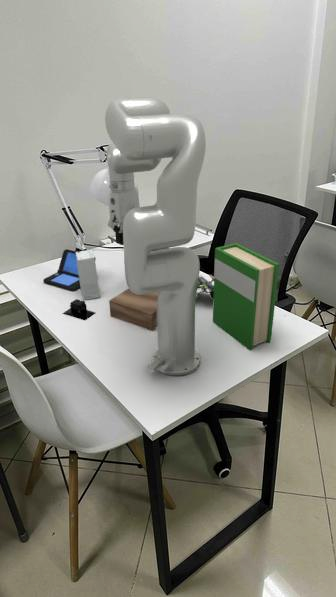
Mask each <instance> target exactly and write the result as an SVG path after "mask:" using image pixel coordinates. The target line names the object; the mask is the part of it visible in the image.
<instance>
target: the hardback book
mask: <svg viewBox="0 0 336 597" xmlns="http://www.w3.org/2000/svg"><path fill="white" fill-rule="evenodd" d="M279 269H280V263H278V262H277V261H274V260H272V259H270V258H268V257H266V256H264V255H262V254H260V253H258V252H256V251H254V250H253V249H252V250H251V249H249V248H247V247H246V246H244V245H241V244H239V243H237V242H234V243H231V244H227V245H224V246H223V245H222V246H218V247H215V249H214V272H213V277H214V281H213V286H214V298H213V299H212V301H213V303H212V304H213V306H212V307H213V308H212V323H213V324H214V325H216V326H217V327H218V328H220V329H221V330H222V331H224V332H225V333H226V334H228V335H229V336H230V337H232V338H233V340H235V341H236V342H238V343H239V344H240V345H242V346H243V347H244V348H245V347H246V348H245V349H247V350H248V351H249V352H250V351H253V349H254V348H253V347H254V346H256V345H259V344H262V343H266V344H268V345H269V344H271V343H272V342H271V341H272V335H273V325H274V324H273V323H274V316H275V309H276V308H275V307H276V297H277V291H278V290H277V289H278V288H277V287H278V281H279V280H278V278H279Z"/></svg>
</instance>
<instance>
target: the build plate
mask: <svg viewBox="0 0 336 597" xmlns="http://www.w3.org/2000/svg"><path fill="white" fill-rule="evenodd" d="M69 307H70V308H68V309H67V310H66V311H64V312H62V313H61V314H63V315H66V316H67V317H68V316H69V317H72V318H75V319H78V320H81V321H86V320H88V319H90V318H91V317H92V316H94V315H96V312H95V311H91V310H88V309H87V308H88V307H87V304H86V300H80V299H77V298H75V299H74V300H73V301H71V302H70V305H69Z"/></svg>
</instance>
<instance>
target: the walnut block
mask: <svg viewBox="0 0 336 597" xmlns="http://www.w3.org/2000/svg"><path fill="white" fill-rule="evenodd" d="M160 292H161V291H160ZM160 292H155V293H150V294H143V295H137V294H134V293H132V292H131V291H130V290H129V288H127V289H126V290H124V291H122V292H121V293H119V294H118V295H116V296H114V297H112V298H111V299H109V300H108V303H109V304H108V305H109V312H110V313H109V314H110V315H109V316H110V317H111V318H114V319H116V320H120V321H122V322H125V323H128V324H132V325H134V326H137V327H140V328H142V329H146V330H149V331H151V332H152V331H154V330H155V329H157V300H158V297H159V294H160Z"/></svg>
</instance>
